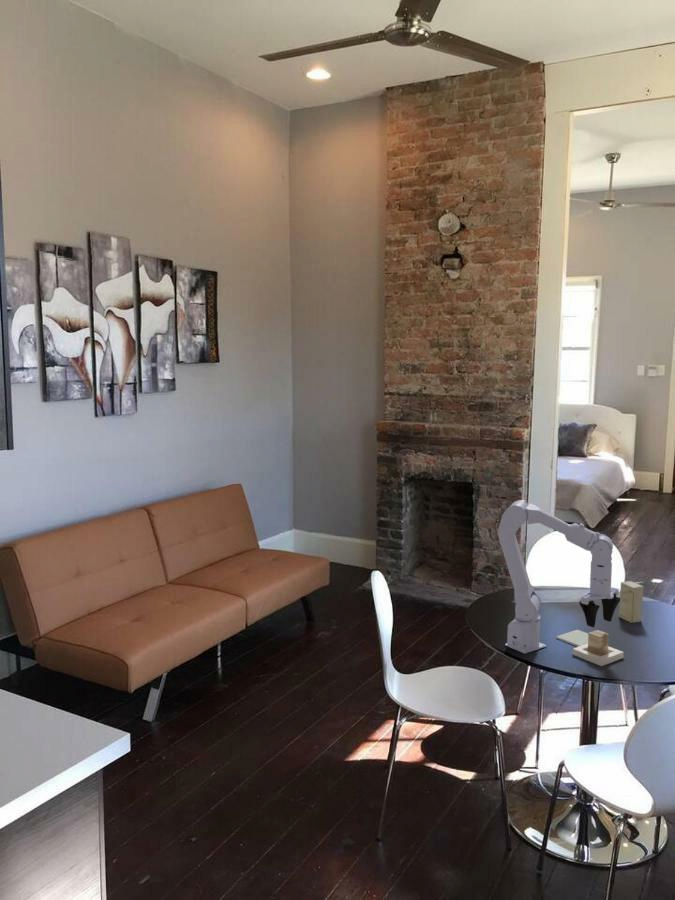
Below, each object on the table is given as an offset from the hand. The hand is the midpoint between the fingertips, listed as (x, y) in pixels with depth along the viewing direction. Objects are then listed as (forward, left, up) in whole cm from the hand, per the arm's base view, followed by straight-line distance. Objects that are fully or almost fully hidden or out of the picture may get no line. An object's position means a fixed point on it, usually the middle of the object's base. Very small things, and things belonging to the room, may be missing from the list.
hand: (599, 623), depth 214 cm
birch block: (0, 0, -10) cm, 10 cm away
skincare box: (+34, +13, -10) cm, 38 cm away
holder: (0, 0, -10) cm, 10 cm away
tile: (+6, +11, -10) cm, 16 cm away
